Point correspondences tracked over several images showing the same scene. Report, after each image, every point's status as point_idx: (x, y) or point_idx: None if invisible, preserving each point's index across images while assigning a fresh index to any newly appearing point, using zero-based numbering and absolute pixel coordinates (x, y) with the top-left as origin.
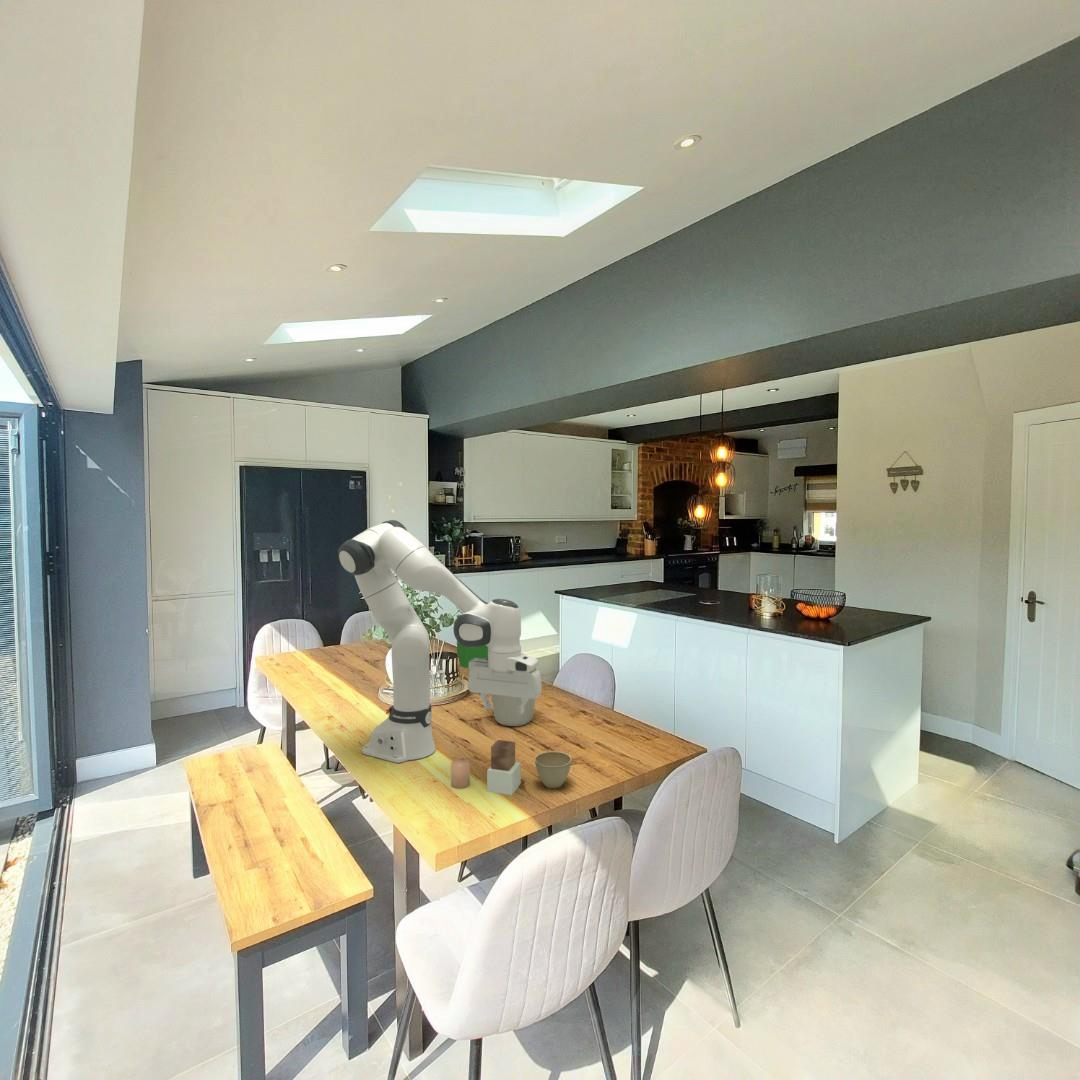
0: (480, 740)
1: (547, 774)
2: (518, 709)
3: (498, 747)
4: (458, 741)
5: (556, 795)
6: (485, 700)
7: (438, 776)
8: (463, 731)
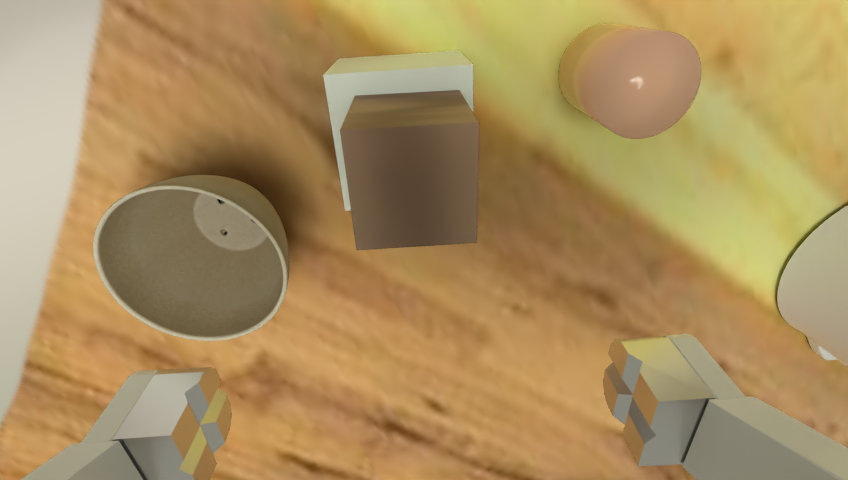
0: None
1: (188, 176)
2: (160, 407)
3: (421, 130)
4: None
5: (166, 131)
6: (755, 450)
7: (718, 105)
8: None
